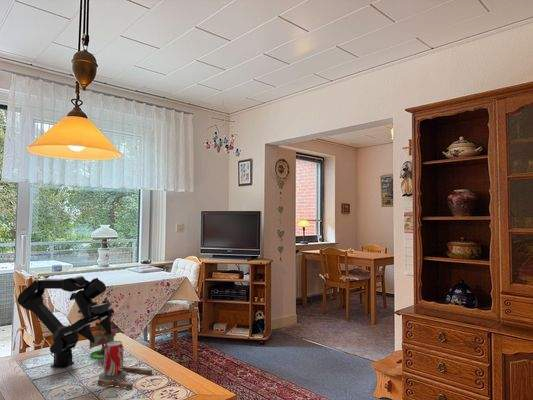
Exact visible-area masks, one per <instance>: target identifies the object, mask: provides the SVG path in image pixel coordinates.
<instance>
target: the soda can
mask: <svg viewBox="0 0 533 400" xmlns="http://www.w3.org/2000/svg"><path fill="white" fill-rule="evenodd" d="M124 348H125V347H124V345H123V342H122V340H114V341H111V342H108V343H107V346H106V347H105V353H104V358H103V372H104V374H105V375H107V376H110V377H113V376H117V375H119V374H120V373H121V372H122V371H123V366H124V351H125V350H124Z"/></svg>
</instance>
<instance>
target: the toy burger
mask: <svg viewBox="0 0 533 400" xmlns="http://www.w3.org/2000/svg"><path fill="white" fill-rule="evenodd" d="M99 322H100V320H96V321H95V326H94V327H95V331H100V332H101V333H96V334H93V337H94V339H95V342H94V343H92V342H91V341H89V346H88V349H89V350H91V349H93V348H96V347H98V346H101V347H98V349H97V350H94V351H92V352H91V353H90V358H92V359H98V360H99V359H104V353H105V347H106V346H107V343H108V342H111V341H115V336H117V334H116V331H115V329H113V328H114V320H113V319H112V318H111V334H110V335H109V334H108V333H107V332H106V330H105V329H104V328H103V326H102V325H101V324H100V323H99ZM103 331H104V332H103Z"/></svg>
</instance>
